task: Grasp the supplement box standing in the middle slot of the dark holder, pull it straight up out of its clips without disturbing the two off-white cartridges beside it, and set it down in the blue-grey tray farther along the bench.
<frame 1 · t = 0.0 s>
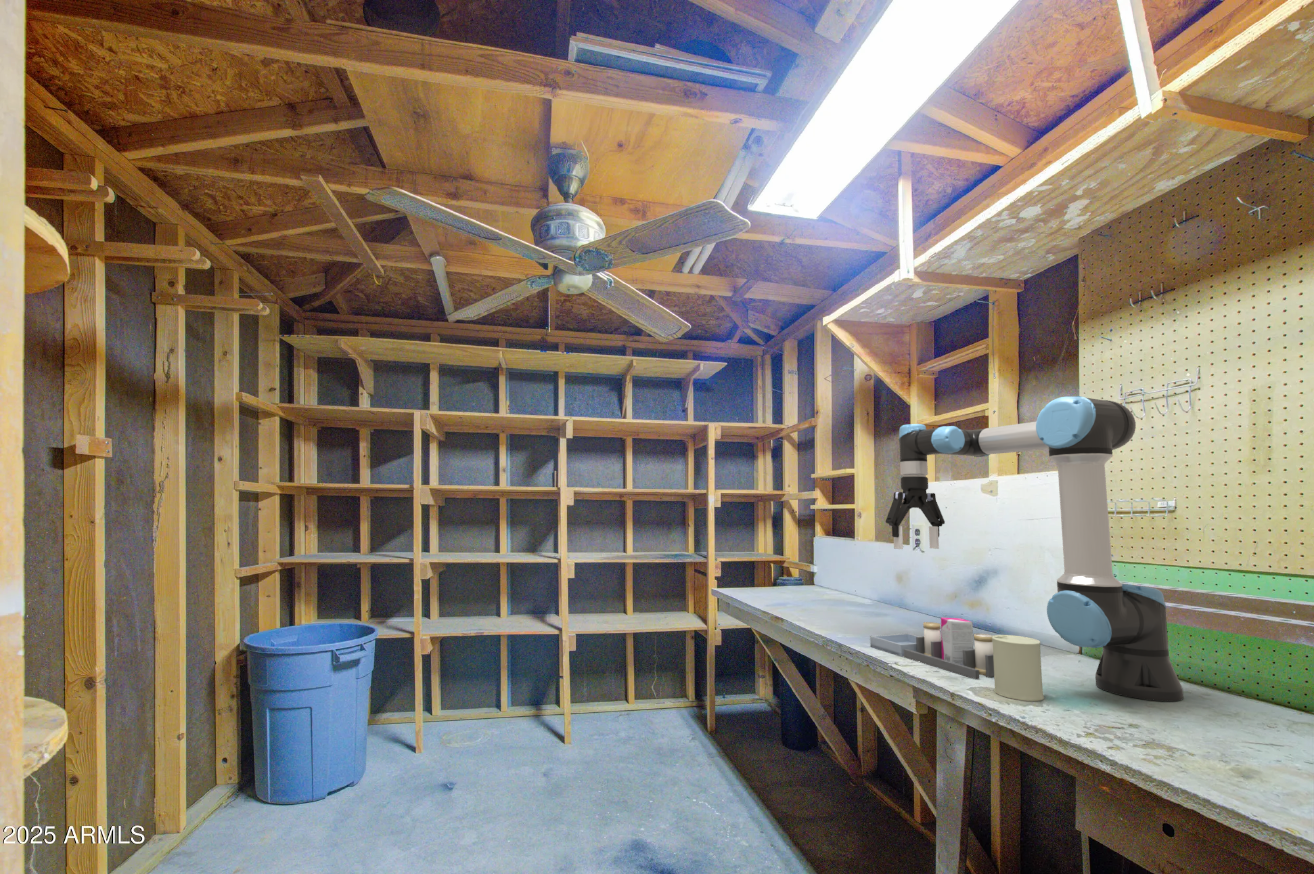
hand: (916, 548, 177), 28 cm above the table, tool pointing down, fingers open, 13 cm apart
holder: (957, 665, 154), on the table
supplement box: (957, 666, 154), resting in holder
tray: (905, 649, 170), on the table
can: (1018, 695, 130), on the table
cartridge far: (933, 658, 161), resting in holder
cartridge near: (985, 673, 146), resting in holder
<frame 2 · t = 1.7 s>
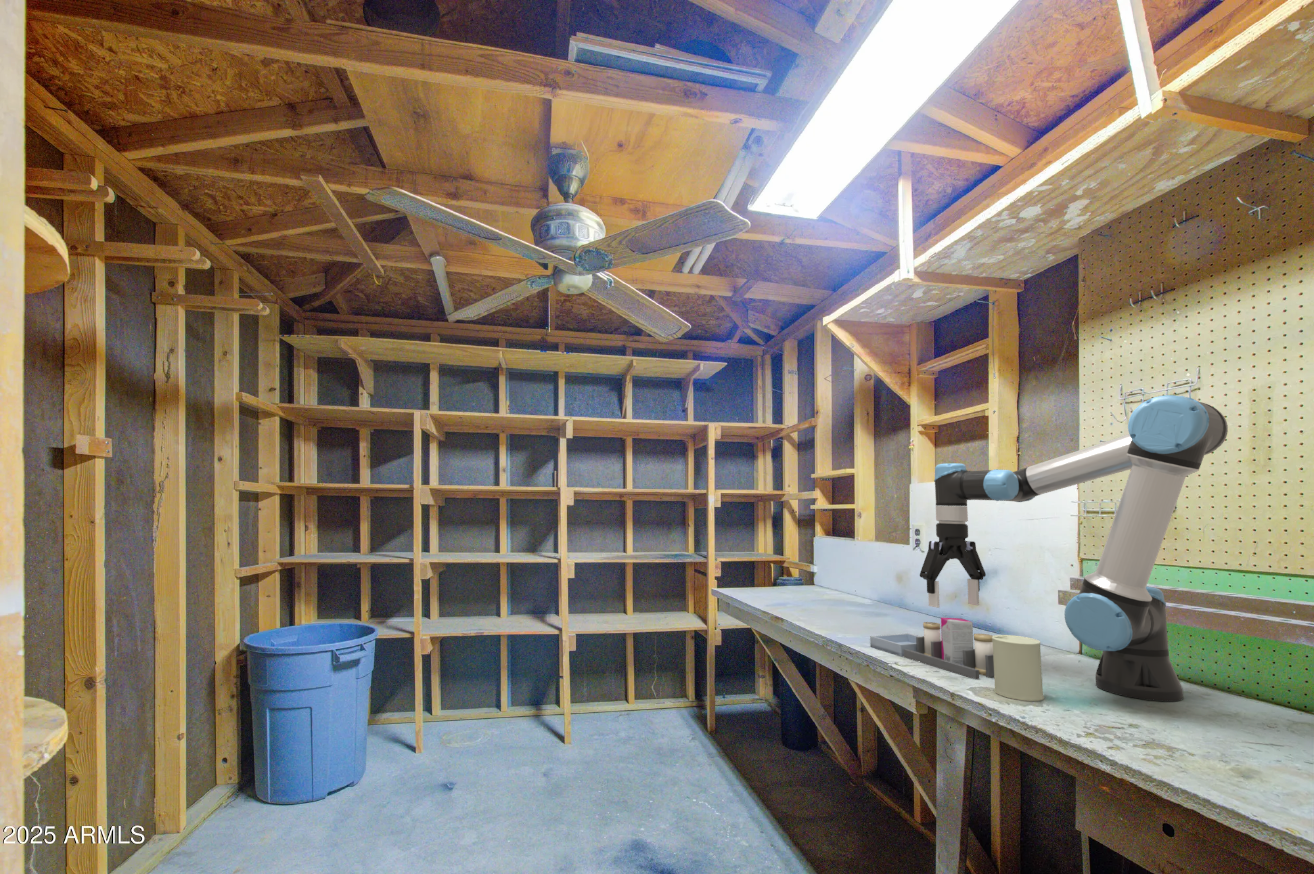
hand: (954, 605, 156), 15 cm above the table, tool pointing down, fingers open, 13 cm apart
nothing on the table moved.
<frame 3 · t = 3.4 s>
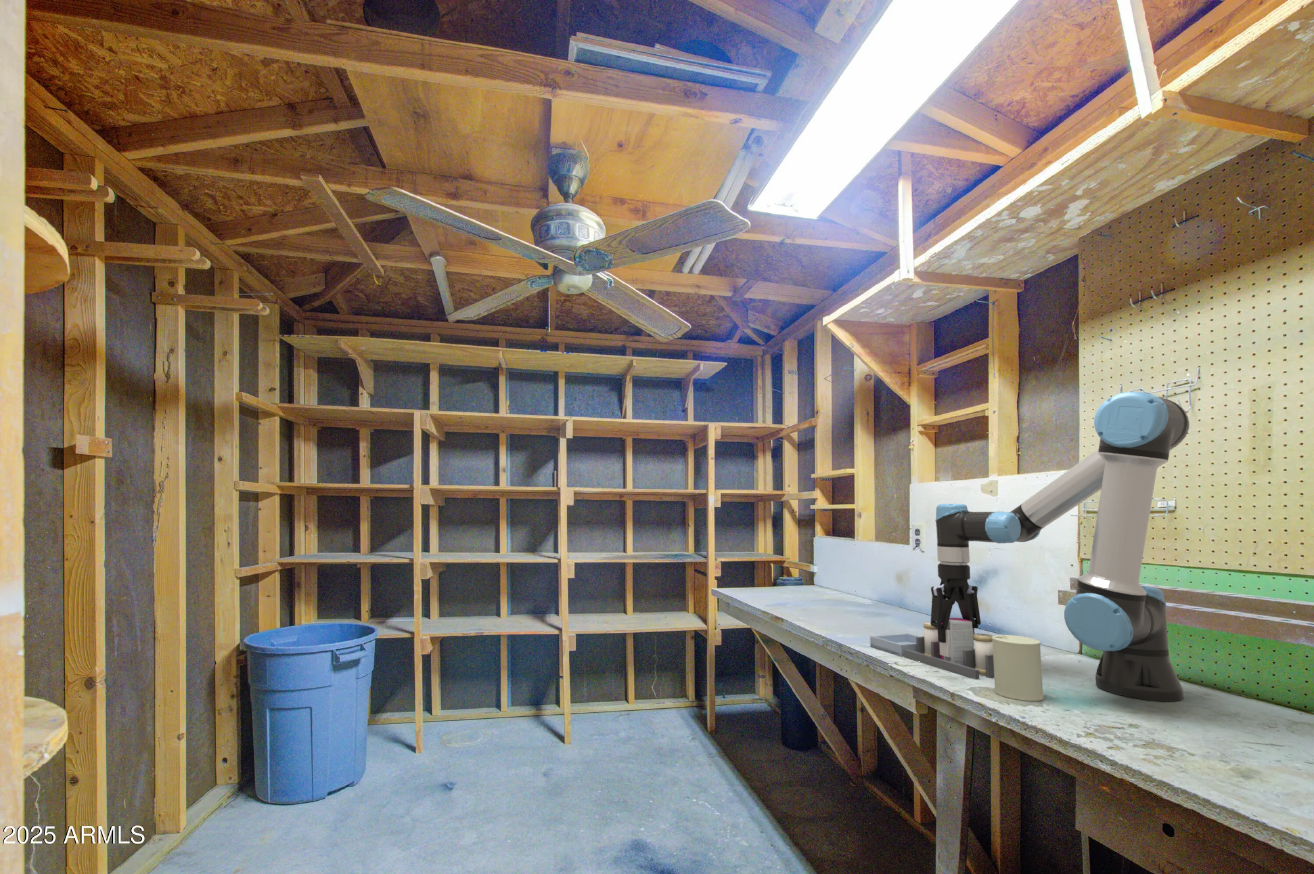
hand: (957, 654, 154), 3 cm above the table, tool pointing down, fingers closed on supplement box, 7 cm apart
supplement box: (957, 666, 154), resting in holder, touching gripper
everything else where it was.
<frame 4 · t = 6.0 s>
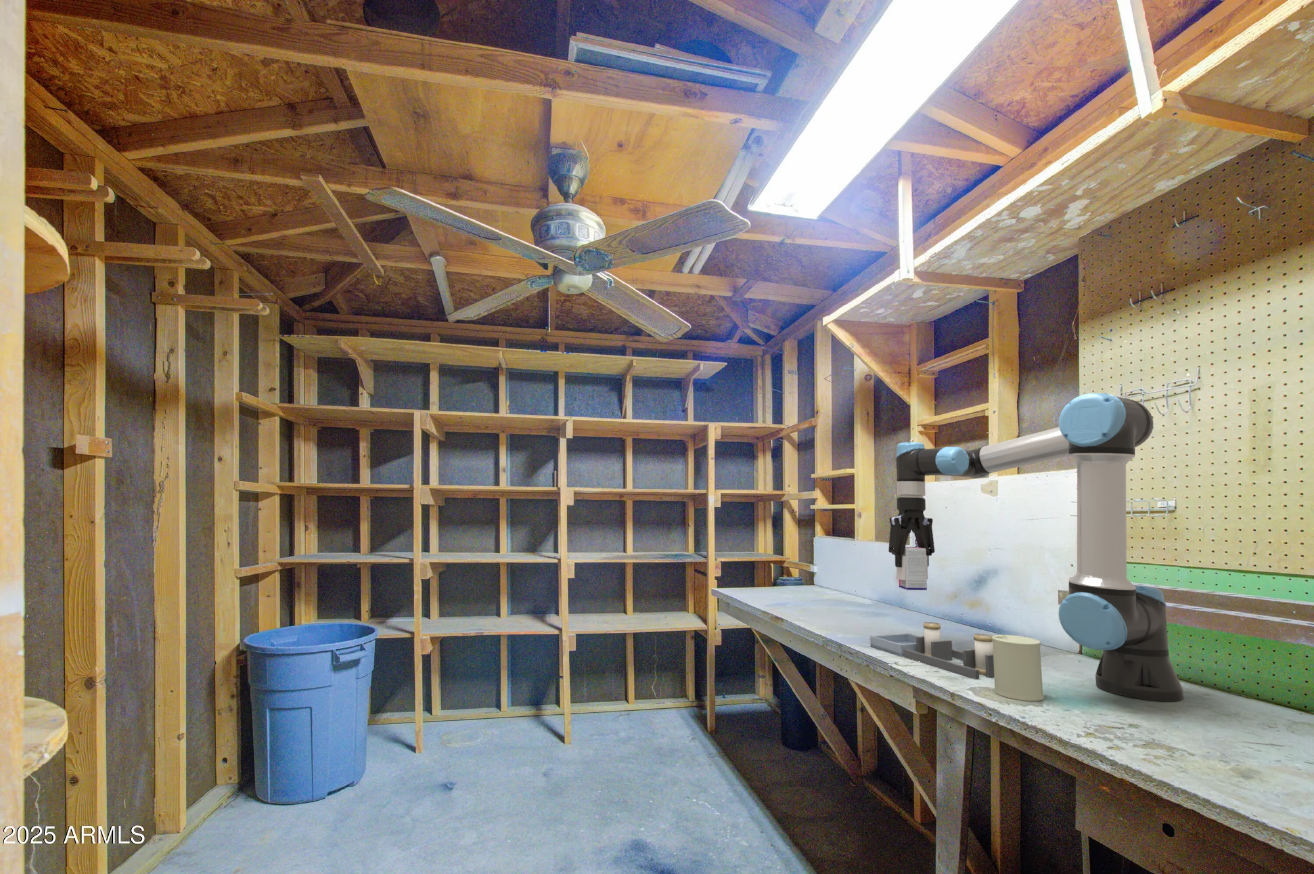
hand: (912, 578, 169), 20 cm above the table, tool pointing down, fingers closed on supplement box, 7 cm apart
supplement box: (912, 589, 169), point 17 cm above the table, touching gripper
everything else where it was.
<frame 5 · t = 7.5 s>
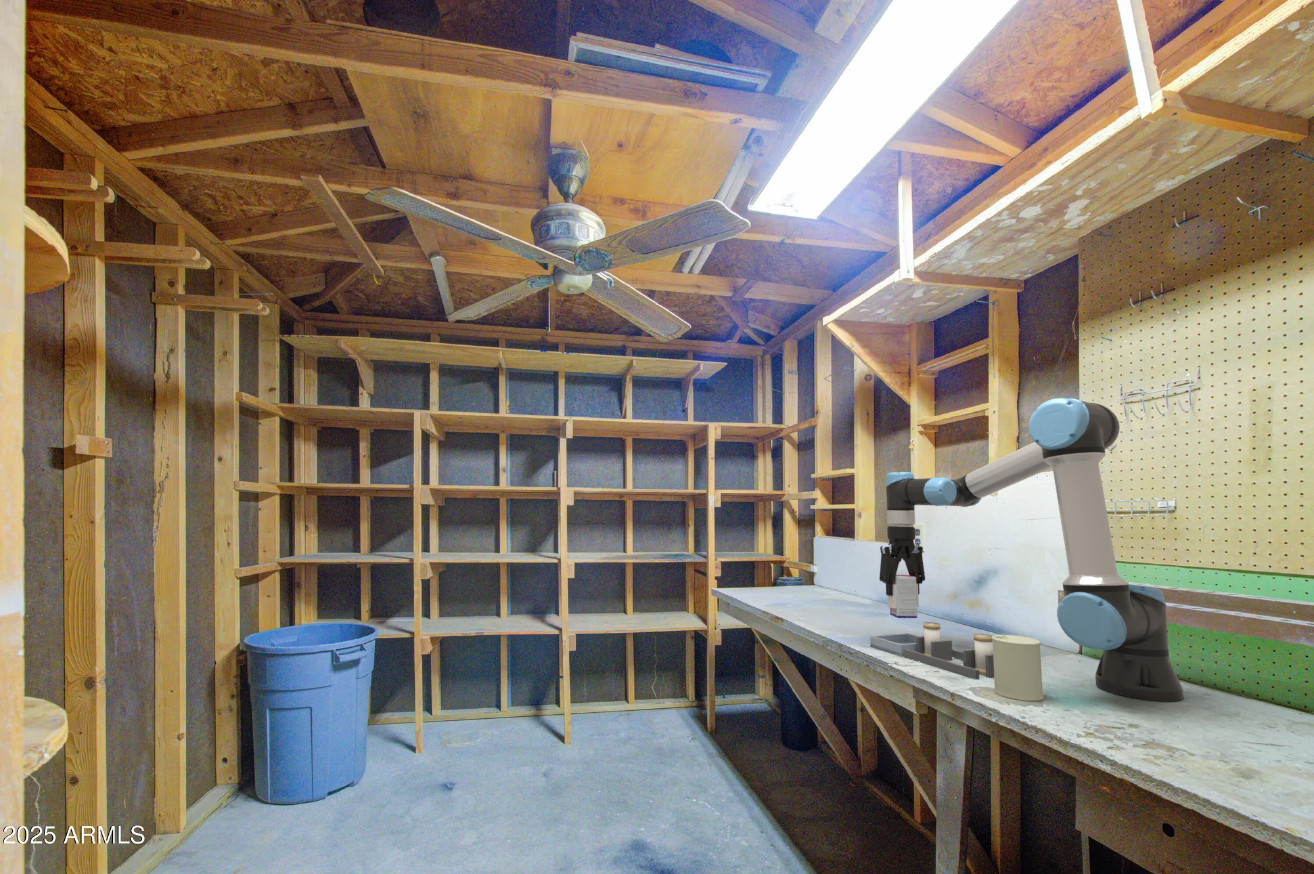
hand: (903, 606, 172), 12 cm above the table, tool pointing down, fingers closed on supplement box, 7 cm apart
supplement box: (903, 617, 172), point 9 cm above the table, touching gripper
everything else where it was.
when the fingers open (5 cm above the table, at t = 8.9 s): supplement box drops 2 cm, resting on tray.
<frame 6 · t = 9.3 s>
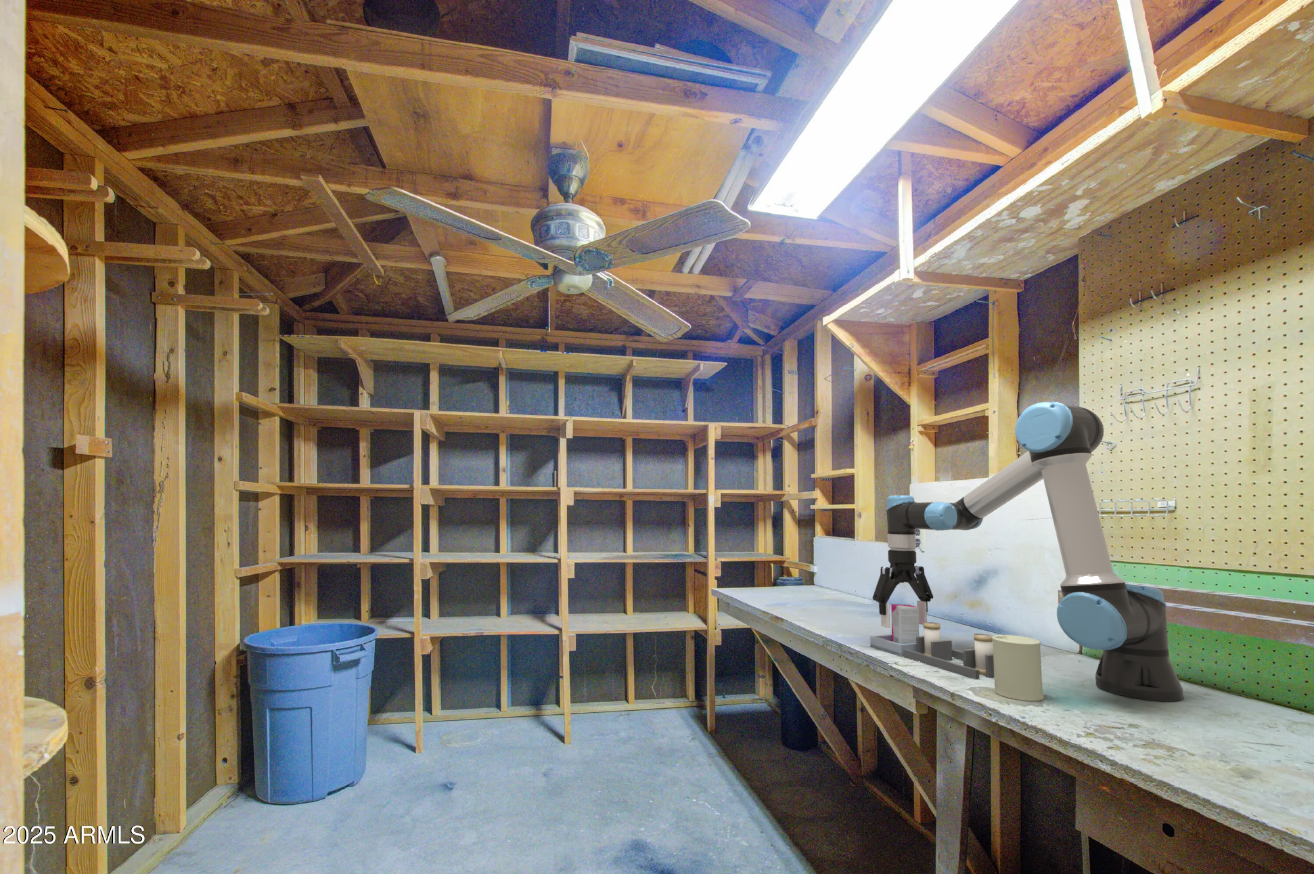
hand: (904, 625, 171), 7 cm above the table, tool pointing down, fingers open, 13 cm apart
supplement box: (905, 647, 170), point 1 cm above the table, touching tray
everything else where it was.
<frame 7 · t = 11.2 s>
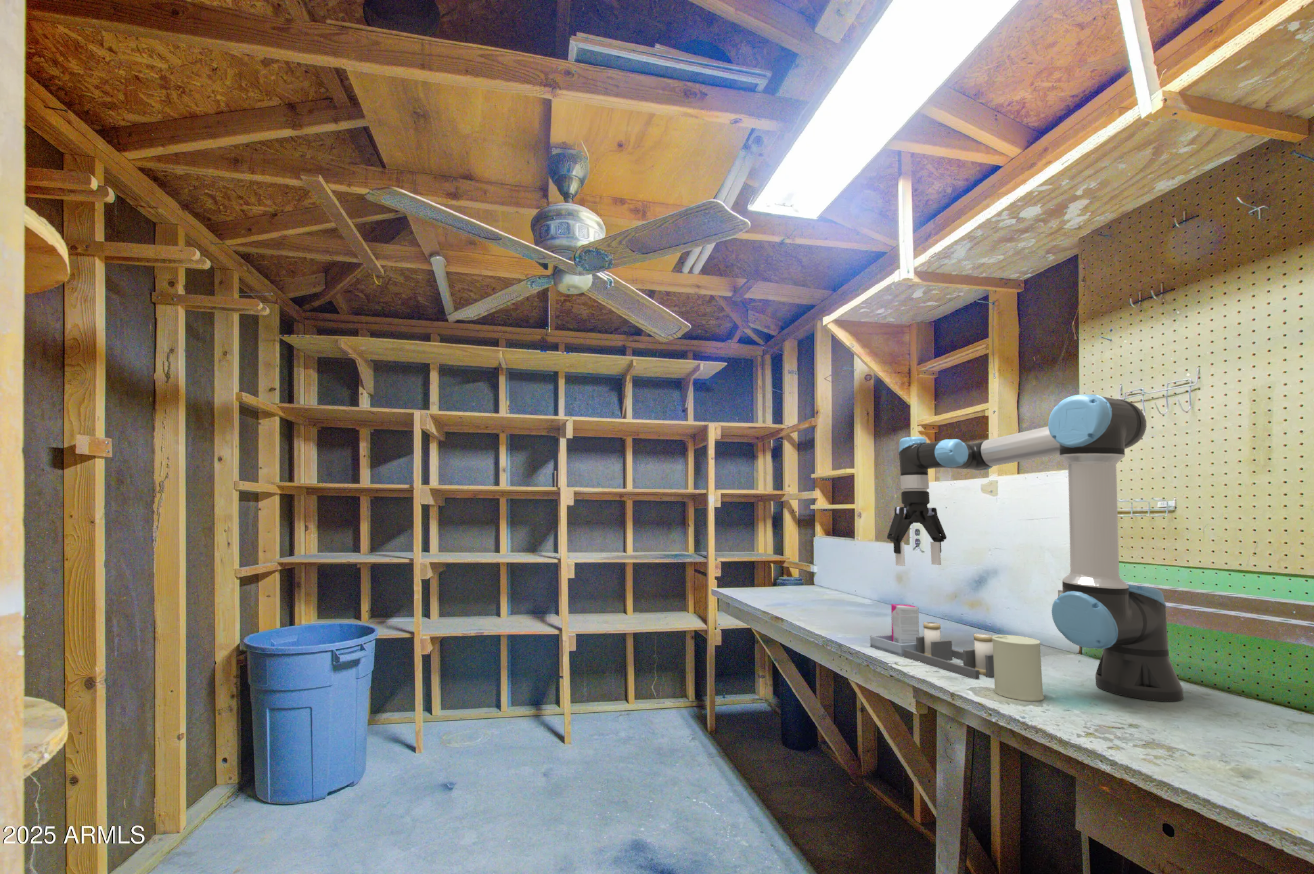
hand: (918, 565, 172), 24 cm above the table, tool pointing down, fingers open, 13 cm apart
nothing on the table moved.
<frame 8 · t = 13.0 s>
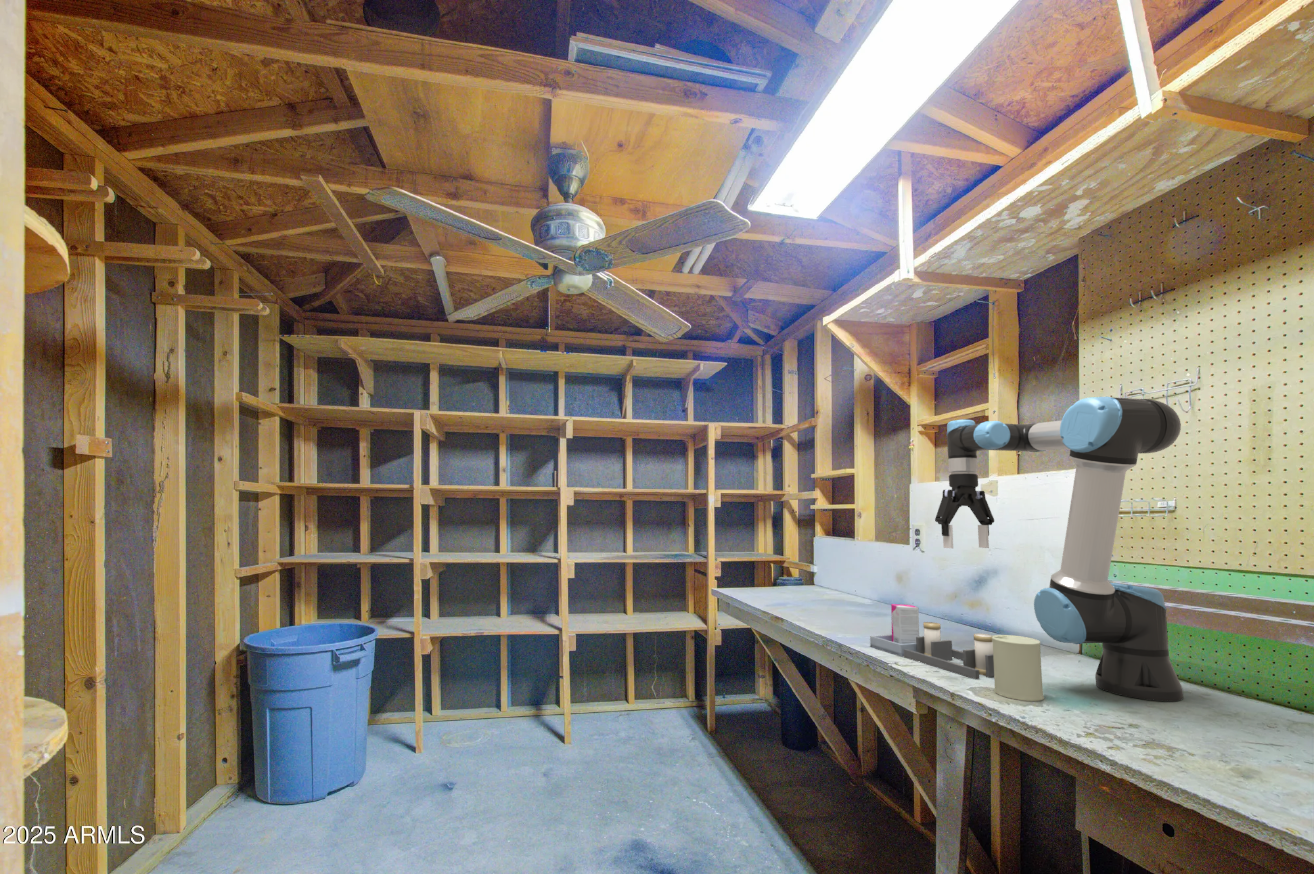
hand: (966, 548, 172), 29 cm above the table, tool pointing down, fingers open, 13 cm apart
nothing on the table moved.
at the end: supplement box inside the target area on the tray (0.1 cm from its centre), point 0.6 cm above the tray's base; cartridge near moved 0.0 cm from its start; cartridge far moved 0.0 cm from its start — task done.
